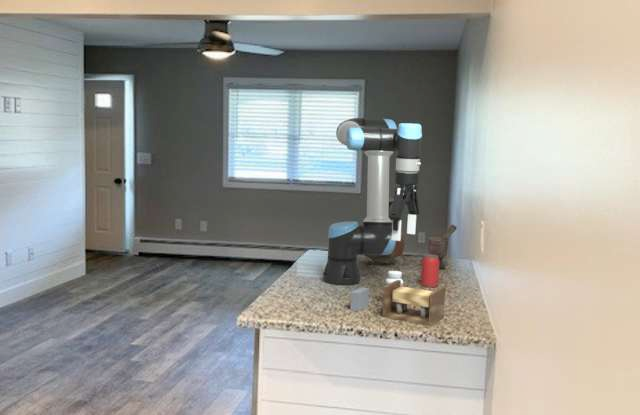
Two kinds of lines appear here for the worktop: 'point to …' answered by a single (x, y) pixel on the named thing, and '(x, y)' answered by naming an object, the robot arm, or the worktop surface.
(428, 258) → the beer can
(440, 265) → the mortar and pestle
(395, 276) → the pill bottle
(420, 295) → the shelf board
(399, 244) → the vase
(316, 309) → the worktop surface
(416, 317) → the peg frame
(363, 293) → the riser block
